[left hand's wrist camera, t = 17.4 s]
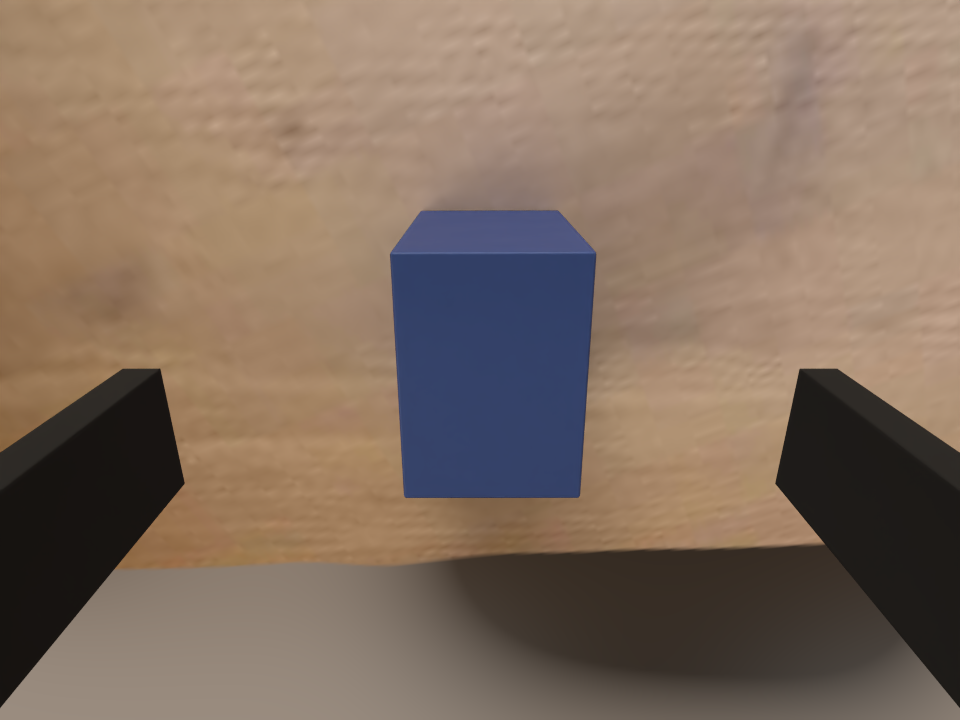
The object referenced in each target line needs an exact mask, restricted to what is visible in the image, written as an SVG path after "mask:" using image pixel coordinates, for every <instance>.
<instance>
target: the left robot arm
mask: <svg viewBox="0 0 960 720" xmlns="http://www.w3.org/2000/svg"><path fill="white" fill-rule="evenodd" d="M184 484H185V483H184V478H183V473H182V469H181V464H180V459H179V455H178V450H177V445H176V441H175V436H174V431H173V426H172V422H171V417H170V412H169V408H168V403H167V398H166V393H165V389H164V384H163V379H162V375H161V370H160V369H122V370H120V371H119V372H118V373H116V374H115V375H113V376H112V377H110V378H109V379H107V380H106V381H104V382H103V383H101V384H100V385H99V386H97V387H96V388H94V389H93V390H91V391H90V392H88V393H87V394H85V395H84V396H82V397H81V398H80V399H78V400H77V401H75V402H74V403H72V404H71V405H69V406H68V407H66V408H65V409H63V410H62V411H61V412H59V413H58V414H56V415H55V416H53V417H52V418H50V419H49V420H47V421H46V422H44V423H43V424H42V425H40V426H39V427H37V428H36V429H34V430H33V431H31V432H30V433H28V434H27V435H25V436H24V437H23V438H21V439H20V440H18V441H17V442H15V443H14V444H12V445H11V446H9V447H8V448H6V449H5V450H4V451H2V452H1V453H0V707H1V706H2V705H3V704H4V703H5V701H6V700H7V699H8V698H9V697H10V695H11V694H12V693H13V692H14V690H15V689H16V688H17V687H18V685H19V684H20V683H21V682H22V681H23V679H24V678H25V677H26V676H27V675H28V673H29V672H30V671H31V670H32V669H33V667H34V666H35V665H36V664H37V662H38V661H39V660H40V659H41V658H42V656H43V655H44V654H45V653H46V651H47V650H48V649H49V648H50V647H51V645H52V644H53V643H54V642H55V641H56V639H57V638H58V637H59V636H60V634H61V633H62V632H63V631H64V630H65V628H66V627H67V626H68V625H69V624H70V622H71V621H72V620H73V619H74V617H75V616H76V615H77V614H78V613H79V611H80V610H81V609H82V608H83V606H84V605H85V604H86V603H87V602H88V600H89V599H90V598H91V597H92V596H93V594H94V593H95V592H96V591H97V589H98V588H99V587H100V586H101V585H102V583H103V582H104V581H105V580H106V579H107V577H108V576H109V575H110V574H111V572H112V571H113V570H114V569H115V568H116V566H117V565H118V564H119V563H120V562H121V560H122V559H123V558H124V557H125V555H126V554H127V553H128V552H129V551H130V549H131V548H132V547H133V546H134V545H135V543H136V542H137V541H138V540H139V538H140V537H141V536H142V535H143V534H144V532H145V531H146V530H147V529H148V527H149V526H150V525H151V524H152V523H153V521H154V520H155V519H156V518H157V517H158V515H159V514H160V513H161V512H162V510H163V509H164V508H165V507H166V506H167V504H168V503H169V502H170V501H171V500H172V498H173V497H174V496H175V495H176V493H177V492H178V491H179V490H180V489H181V487H182V486H183V485H184ZM775 484H776V485H777V486H778V487H779V489H780V490H781V491H782V492H783V493H784V495H785V496H786V497H787V498H788V500H789V501H790V502H791V503H792V504H793V506H794V507H795V508H796V509H797V510H798V512H799V513H800V514H801V515H802V517H803V518H804V519H805V520H806V521H807V523H808V524H809V525H810V526H811V527H812V529H813V530H814V531H815V532H816V534H817V535H818V536H819V537H820V538H821V540H822V541H823V542H824V543H825V545H826V546H827V547H828V548H829V549H830V551H831V552H832V553H833V554H834V555H835V557H836V558H837V559H838V560H839V562H840V563H841V564H842V565H843V566H844V568H845V569H846V570H847V571H848V572H849V574H850V575H851V576H852V577H853V579H854V580H855V581H856V582H857V583H858V585H859V586H860V587H861V588H862V590H863V591H864V592H865V593H866V594H867V596H868V597H869V598H870V599H871V600H872V602H873V603H874V604H875V605H876V607H877V608H878V609H879V610H880V611H881V613H882V614H883V615H884V616H885V617H886V619H887V620H888V621H889V622H890V624H891V625H892V626H893V627H894V628H895V630H896V631H897V632H898V633H899V634H900V636H901V637H902V638H903V639H904V641H905V642H906V643H907V644H908V645H909V647H910V648H911V649H912V650H913V652H914V653H915V654H916V655H917V656H918V658H919V659H920V660H921V661H922V662H923V664H924V665H925V666H926V667H927V669H928V670H929V671H930V672H931V673H932V675H933V676H934V677H935V678H936V679H937V681H938V682H939V683H940V684H941V686H942V687H943V688H944V689H945V690H946V692H947V693H948V694H949V695H950V696H951V698H952V699H953V700H954V701H955V703H956V704H957V705H958V706H959V707H960V453H959V452H958V451H956V450H955V449H954V448H952V447H951V446H949V445H948V444H946V443H945V442H943V441H942V440H940V439H939V438H937V437H936V436H935V435H933V434H932V433H930V432H929V431H927V430H926V429H924V428H923V427H921V426H920V425H918V424H917V423H916V422H914V421H913V420H911V419H910V418H908V417H907V416H905V415H904V414H902V413H901V412H899V411H898V410H897V409H895V408H894V407H892V406H891V405H889V404H888V403H886V402H885V401H883V400H882V399H880V398H879V397H878V396H876V395H875V394H873V393H872V392H870V391H869V390H867V389H866V388H864V387H863V386H861V385H860V384H859V383H857V382H856V381H854V380H853V379H851V378H850V377H848V376H847V375H845V374H844V373H842V372H841V371H840V370H838V369H800V370H799V375H798V379H797V384H796V389H795V393H794V398H793V403H792V408H791V412H790V417H789V422H788V426H787V431H786V436H785V441H784V445H783V450H782V455H781V459H780V464H779V469H778V473H777V478H776V483H775Z"/></svg>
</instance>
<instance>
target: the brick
mask: <svg viewBox="0 0 960 720" xmlns="http://www.w3.org/2000/svg"><path fill="white" fill-rule="evenodd" d="M390 261H391V278H392V296H393V313H394V330H395V347H396V365H397V382H398V399H399V416H400V434H401V451H402V468H403V485H404V496H405V497H406V498H578V497H579V496H580V486H581V472H582V457H583V442H584V428H585V413H586V398H587V383H588V369H589V354H590V339H591V325H592V310H593V295H594V281H595V266H596V252H595V251H594V250H593V249H592V248H591V246H590V245H589V244H588V243H587V242H586V241H585V240H584V239H583V238H582V236H581V235H580V234H579V233H578V232H577V231H576V230H575V229H574V228H573V227H572V225H571V224H570V223H569V222H568V221H567V220H566V219H565V218H564V217H563V215H562V214H561V213H560V212H559V211H421V212H420V213H419V215H418V216H417V217H416V219H415V220H414V221H413V223H412V224H411V226H410V227H409V228H408V230H407V231H406V232H405V234H404V235H403V237H402V238H401V239H400V241H399V242H398V243H397V245H396V246H395V248H394V249H393V250H392V252H391V254H390Z"/></svg>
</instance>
